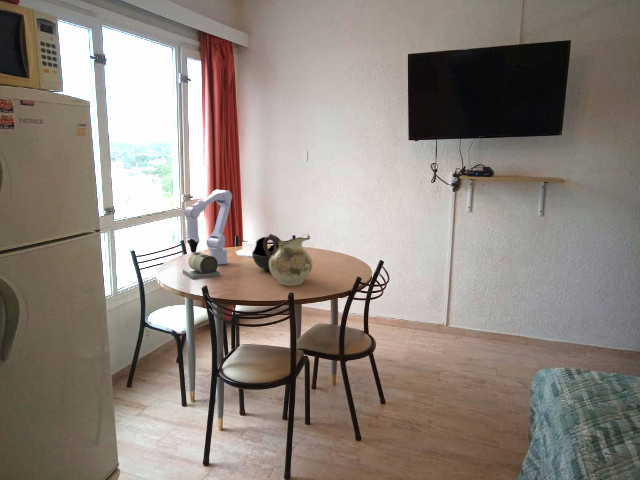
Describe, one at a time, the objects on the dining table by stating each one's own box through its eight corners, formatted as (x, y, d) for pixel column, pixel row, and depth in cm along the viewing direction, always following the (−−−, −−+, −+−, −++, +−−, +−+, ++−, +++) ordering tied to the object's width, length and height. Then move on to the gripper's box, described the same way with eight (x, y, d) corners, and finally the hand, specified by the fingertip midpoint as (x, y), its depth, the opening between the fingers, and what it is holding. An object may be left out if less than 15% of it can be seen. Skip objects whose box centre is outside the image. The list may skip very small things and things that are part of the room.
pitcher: (317, 286, 227) (317, 237, 223) (270, 290, 220) (270, 239, 216) (306, 275, 248) (306, 230, 244) (263, 278, 242) (262, 232, 237)
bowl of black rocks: (251, 266, 267) (250, 234, 263) (285, 264, 271) (285, 233, 267) (253, 275, 248) (253, 241, 244) (290, 273, 252) (290, 240, 248)
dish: (279, 250, 311) (279, 234, 309) (266, 258, 287) (266, 241, 285) (245, 248, 316) (244, 232, 314) (230, 256, 292) (229, 239, 290)
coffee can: (199, 248, 256) (212, 252, 246) (207, 263, 261) (220, 267, 250) (184, 258, 250) (197, 263, 240) (193, 273, 255) (206, 278, 245)
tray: (209, 269, 259) (208, 265, 259) (220, 275, 246) (219, 272, 246) (182, 272, 251) (182, 269, 251) (192, 279, 238) (192, 276, 238)
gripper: (181, 227, 257) (182, 250, 259) (189, 231, 245) (191, 255, 248) (193, 226, 261) (194, 249, 263) (202, 230, 249) (203, 254, 252)
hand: (193, 252), depth 256 cm, fingers closed
